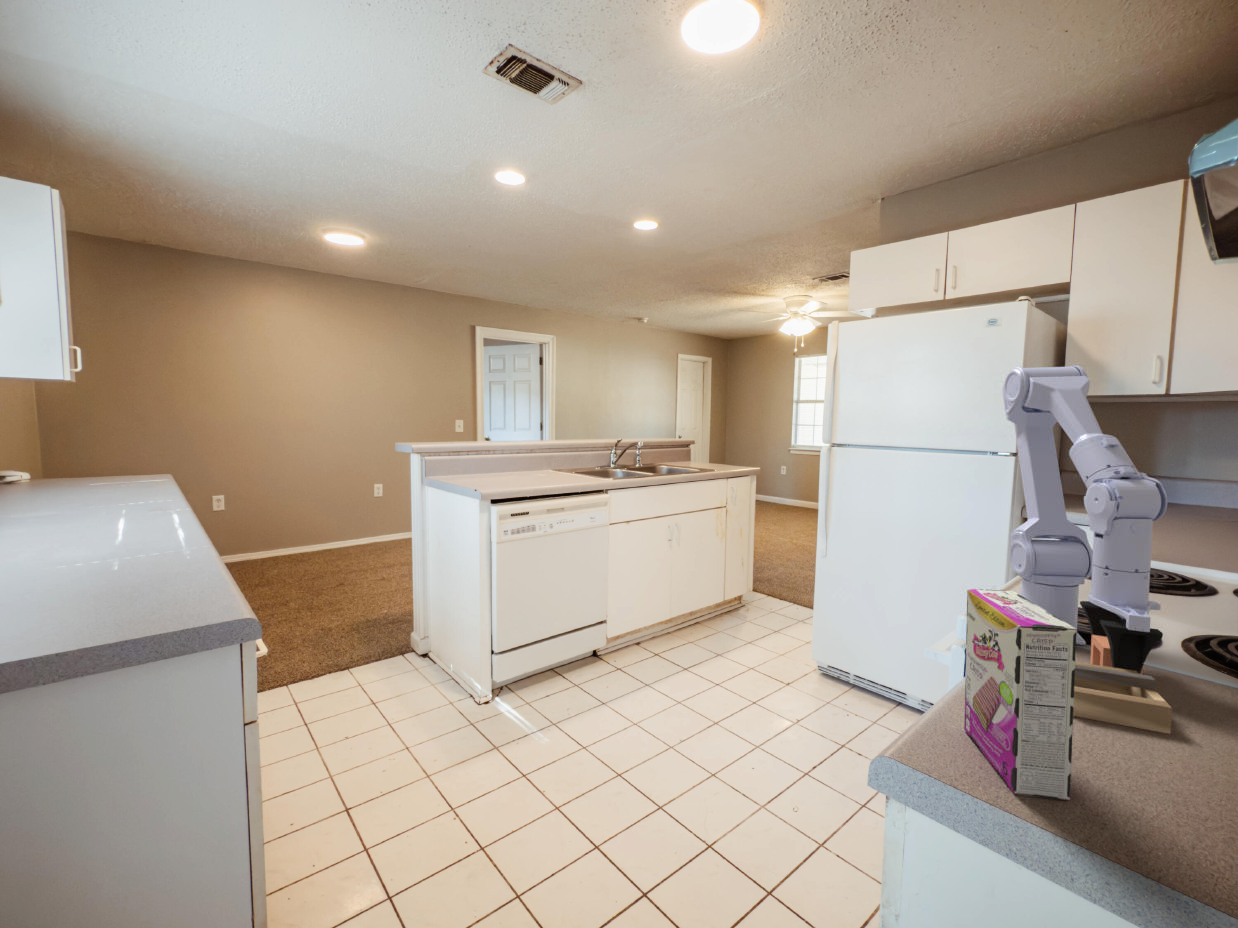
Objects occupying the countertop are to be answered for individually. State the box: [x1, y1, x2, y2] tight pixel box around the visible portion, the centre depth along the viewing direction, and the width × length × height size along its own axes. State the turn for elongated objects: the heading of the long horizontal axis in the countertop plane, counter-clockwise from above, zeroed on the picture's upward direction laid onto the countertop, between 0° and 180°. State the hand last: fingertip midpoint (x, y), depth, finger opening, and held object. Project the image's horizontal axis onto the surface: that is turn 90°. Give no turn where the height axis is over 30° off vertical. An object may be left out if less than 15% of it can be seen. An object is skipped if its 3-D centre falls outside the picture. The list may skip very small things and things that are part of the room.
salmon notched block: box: [1089, 634, 1144, 675], centre depth 73 cm, size 5×4×4 cm
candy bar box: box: [963, 588, 1078, 801], centre depth 54 cm, size 11×5×16 cm, turn 168°
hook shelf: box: [1073, 661, 1173, 735], centre depth 66 cm, size 10×9×4 cm
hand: (1115, 665), depth 73 cm, fingers open, 7 cm apart
